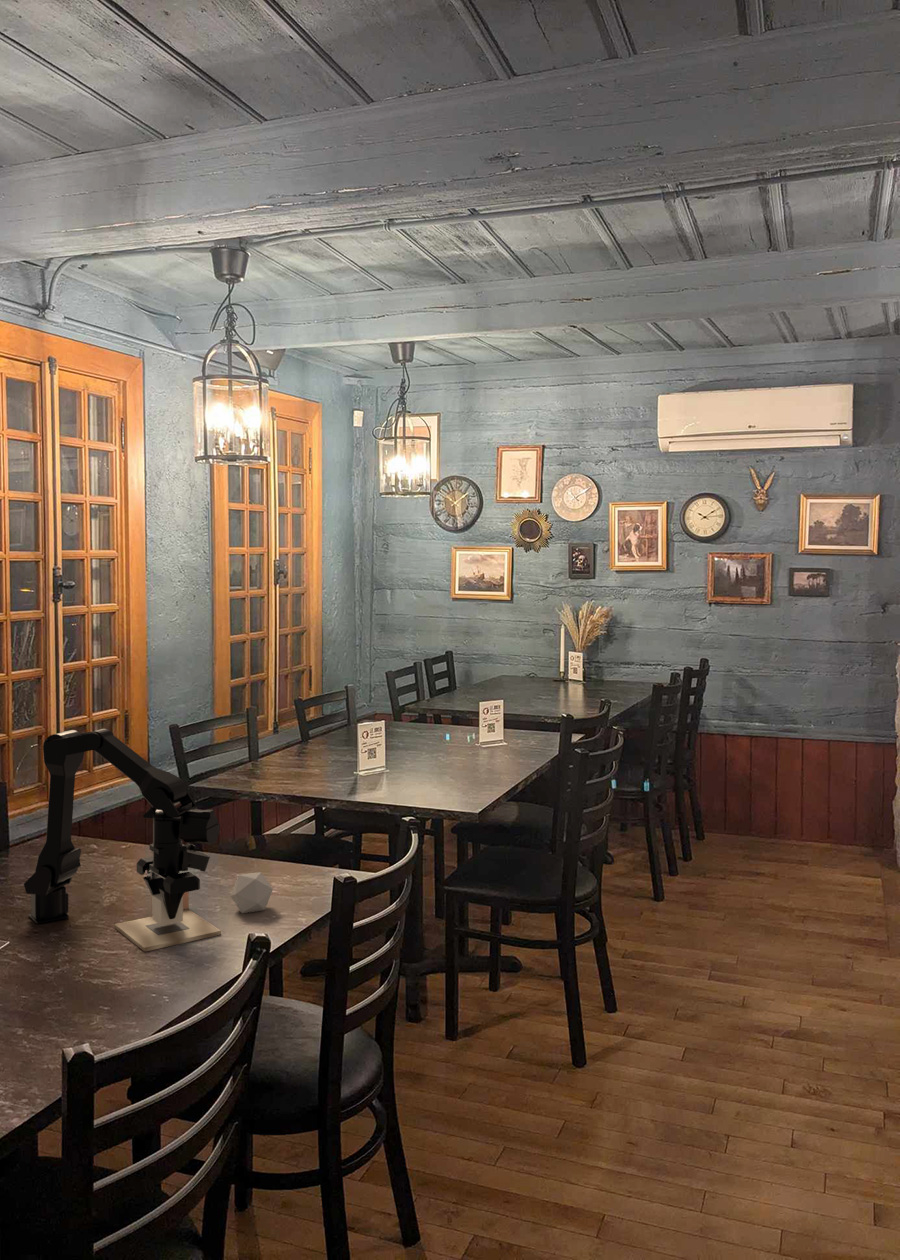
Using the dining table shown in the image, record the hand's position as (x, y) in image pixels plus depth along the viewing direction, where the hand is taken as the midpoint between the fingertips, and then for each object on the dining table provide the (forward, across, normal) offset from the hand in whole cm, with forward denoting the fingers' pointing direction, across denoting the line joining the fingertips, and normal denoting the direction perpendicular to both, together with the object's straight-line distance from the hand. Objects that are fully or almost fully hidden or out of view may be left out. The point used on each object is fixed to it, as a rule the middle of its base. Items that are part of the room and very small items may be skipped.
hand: (167, 915), depth 206 cm
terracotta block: (+3, +13, -7) cm, 15 cm away
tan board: (+3, 0, 0) cm, 3 cm away
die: (+4, +2, -20) cm, 20 cm away
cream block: (+1, 0, 0) cm, 1 cm away
